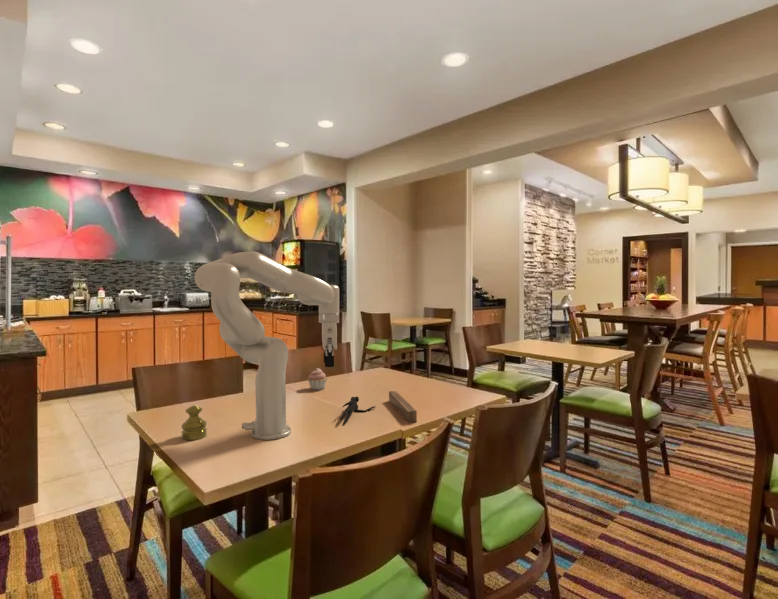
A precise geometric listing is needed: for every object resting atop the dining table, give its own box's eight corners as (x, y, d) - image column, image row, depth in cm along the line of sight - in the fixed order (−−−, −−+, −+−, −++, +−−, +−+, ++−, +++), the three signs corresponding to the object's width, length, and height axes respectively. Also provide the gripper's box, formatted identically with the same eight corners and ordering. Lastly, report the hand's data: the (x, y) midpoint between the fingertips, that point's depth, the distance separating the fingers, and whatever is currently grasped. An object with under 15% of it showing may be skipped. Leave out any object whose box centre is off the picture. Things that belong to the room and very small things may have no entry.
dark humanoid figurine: (358, 407, 151) (371, 386, 175) (335, 414, 152) (351, 392, 177) (366, 429, 151) (378, 405, 176) (342, 436, 153) (357, 411, 177)
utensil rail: (408, 422, 155) (408, 411, 155) (389, 400, 184) (388, 391, 184) (416, 422, 156) (416, 410, 156) (396, 400, 185) (395, 391, 185)
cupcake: (308, 387, 211) (307, 366, 210) (327, 386, 212) (327, 365, 211) (306, 391, 201) (306, 369, 201) (327, 391, 202) (327, 369, 202)
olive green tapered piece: (181, 442, 137) (180, 410, 137) (182, 434, 144) (181, 404, 144) (207, 438, 140) (206, 407, 140) (206, 431, 147) (206, 401, 147)
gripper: (341, 319, 155) (340, 368, 156) (337, 317, 172) (337, 360, 173) (319, 320, 154) (319, 369, 154) (318, 317, 171) (317, 361, 171)
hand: (328, 364), depth 164 cm, fingers open, 9 cm apart
